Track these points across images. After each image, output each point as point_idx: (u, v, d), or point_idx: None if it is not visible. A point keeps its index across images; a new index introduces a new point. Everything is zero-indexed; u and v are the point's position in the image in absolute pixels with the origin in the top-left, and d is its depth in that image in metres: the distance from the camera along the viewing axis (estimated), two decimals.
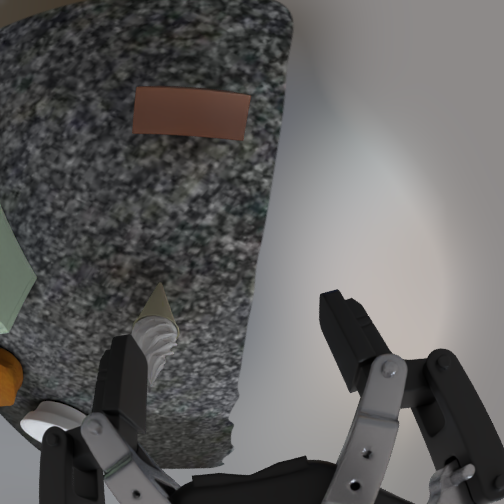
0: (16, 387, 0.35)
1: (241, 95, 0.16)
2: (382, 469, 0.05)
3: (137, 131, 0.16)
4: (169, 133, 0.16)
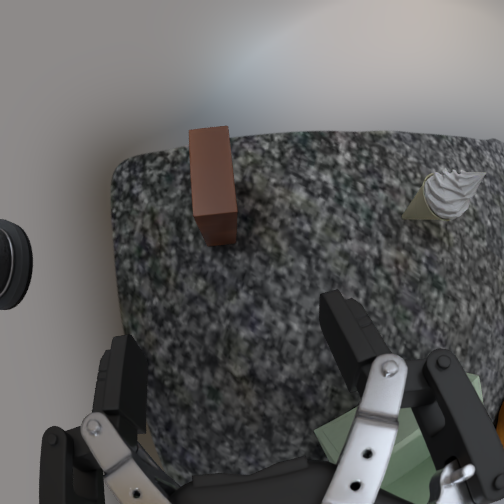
0: None
1: (189, 135, 0.20)
2: (382, 469, 0.05)
3: (234, 207, 0.20)
4: (232, 179, 0.20)
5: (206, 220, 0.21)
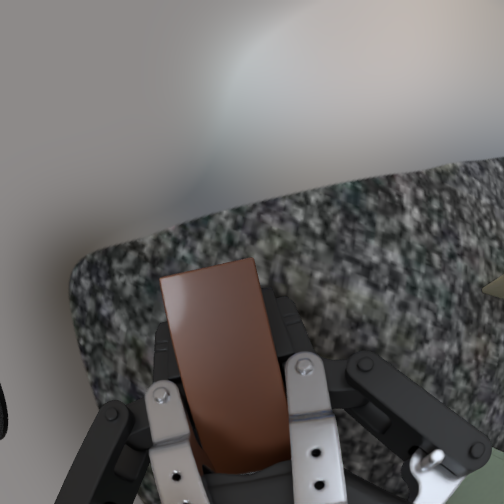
0: None
1: (164, 295, 0.09)
2: (338, 461, 0.05)
3: None
4: (285, 402, 0.08)
5: None
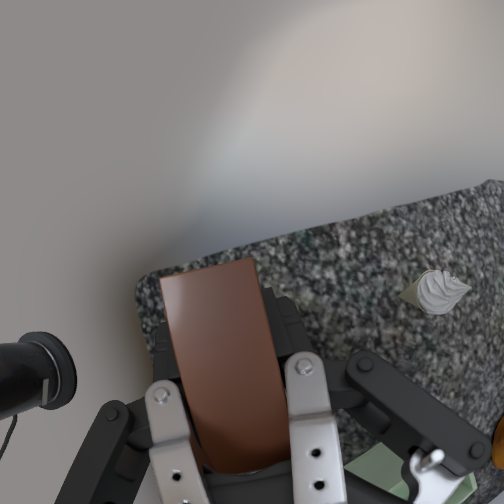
0: None
1: (163, 295, 0.09)
2: (338, 461, 0.05)
3: None
4: (284, 402, 0.08)
5: None
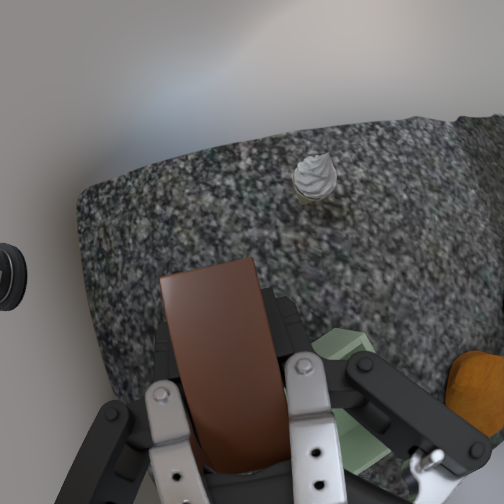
0: (482, 353, 0.31)
1: (163, 295, 0.09)
2: (338, 461, 0.05)
3: None
4: (284, 402, 0.08)
5: None
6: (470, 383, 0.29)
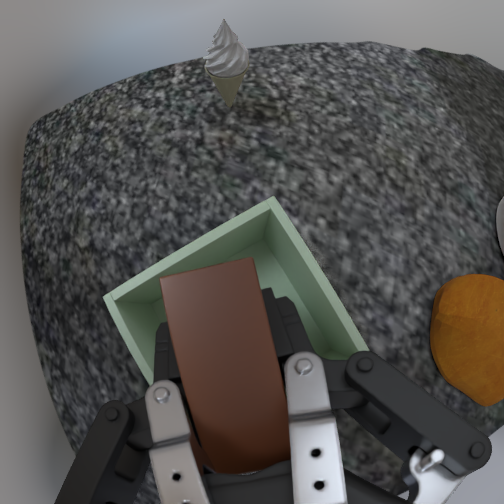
0: None
1: (164, 295, 0.09)
2: (338, 461, 0.05)
3: None
4: (284, 402, 0.08)
5: None
6: (461, 311, 0.24)
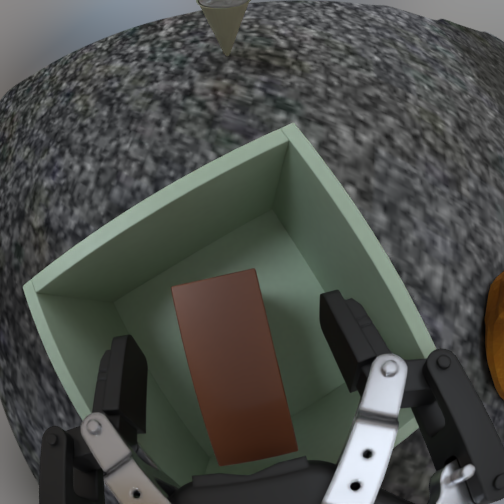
0: None
1: (175, 302, 0.10)
2: (382, 469, 0.05)
3: (293, 445, 0.09)
4: (283, 397, 0.09)
5: None
6: None
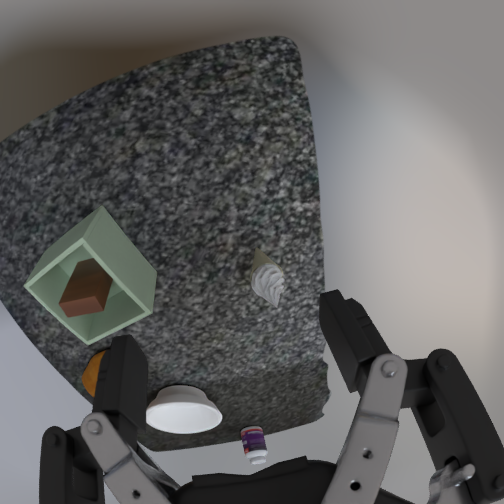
0: None
1: (91, 297, 0.36)
2: (382, 469, 0.05)
3: (68, 316, 0.37)
4: (79, 315, 0.38)
5: None
6: None
